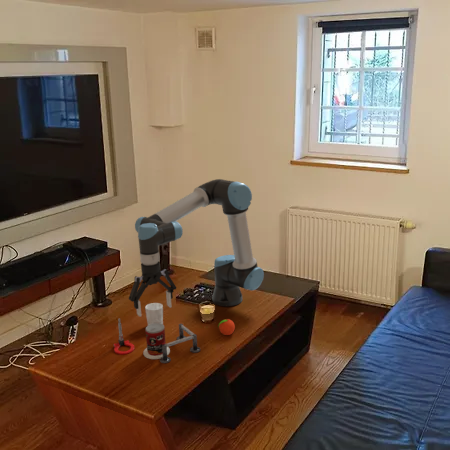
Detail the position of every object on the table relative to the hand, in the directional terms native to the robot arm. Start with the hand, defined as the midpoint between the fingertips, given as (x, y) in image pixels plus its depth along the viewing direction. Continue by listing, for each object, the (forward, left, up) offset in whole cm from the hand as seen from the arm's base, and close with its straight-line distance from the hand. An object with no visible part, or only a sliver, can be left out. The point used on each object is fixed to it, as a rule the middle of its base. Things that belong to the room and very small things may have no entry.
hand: (154, 310), depth 225 cm
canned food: (+1, +1, -18) cm, 18 cm away
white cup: (-9, -21, -19) cm, 30 cm away
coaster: (+1, +1, -19) cm, 19 cm away
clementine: (-31, +5, -19) cm, 37 cm away
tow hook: (+11, -10, -19) cm, 24 cm away
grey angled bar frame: (-6, +3, -19) cm, 20 cm away
